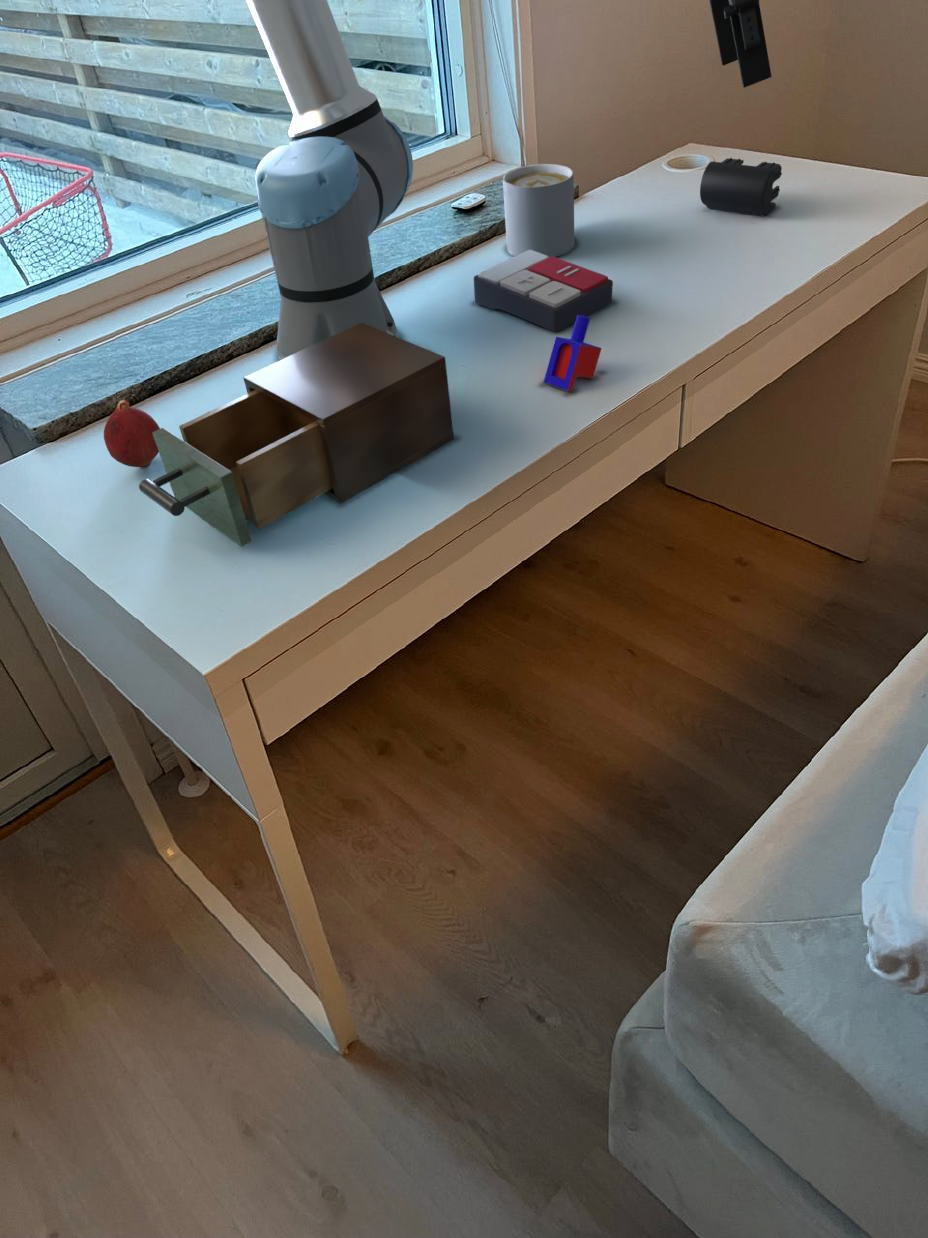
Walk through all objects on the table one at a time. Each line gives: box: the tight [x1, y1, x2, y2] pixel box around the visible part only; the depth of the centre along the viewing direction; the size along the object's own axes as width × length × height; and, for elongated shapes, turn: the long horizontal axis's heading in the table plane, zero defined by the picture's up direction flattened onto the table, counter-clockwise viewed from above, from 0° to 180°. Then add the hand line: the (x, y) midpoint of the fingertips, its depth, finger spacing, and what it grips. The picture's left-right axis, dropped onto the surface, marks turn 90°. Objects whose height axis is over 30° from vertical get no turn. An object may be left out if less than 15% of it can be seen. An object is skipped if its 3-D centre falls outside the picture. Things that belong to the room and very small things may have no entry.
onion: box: [103, 399, 161, 469], centre depth 102 cm, size 6×6×8 cm
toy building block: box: [543, 315, 602, 393], centre depth 109 cm, size 4×4×8 cm
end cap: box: [699, 157, 783, 217], centre depth 143 cm, size 10×7×7 cm
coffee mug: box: [502, 163, 575, 258], centre depth 139 cm, size 13×10×10 cm
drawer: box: [138, 390, 333, 548], centre depth 94 cm, size 19×12×8 cm, turn 133°
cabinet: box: [242, 323, 455, 504], centre depth 101 cm, size 16×14×10 cm
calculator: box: [473, 250, 614, 333], centre depth 126 cm, size 11×4×15 cm
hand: (745, 70), depth 101 cm, fingers open, 13 cm apart
